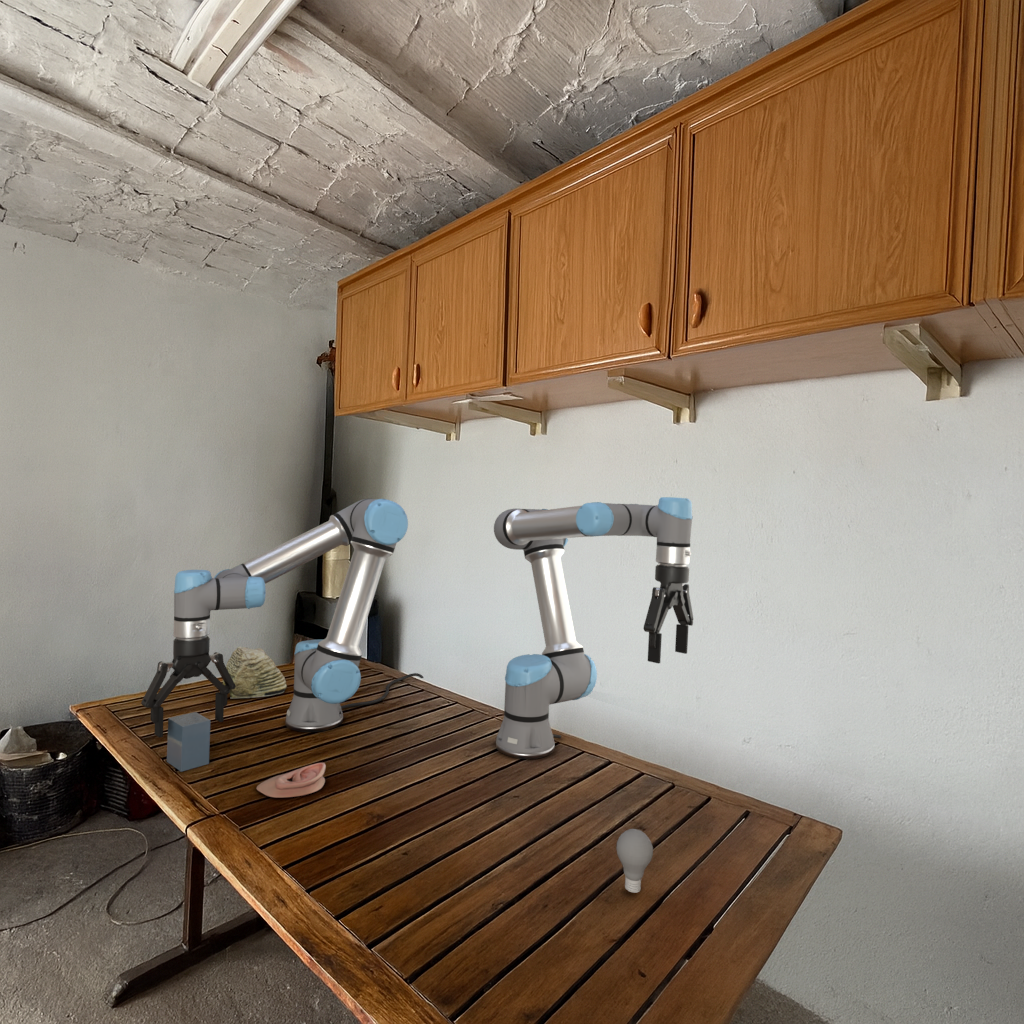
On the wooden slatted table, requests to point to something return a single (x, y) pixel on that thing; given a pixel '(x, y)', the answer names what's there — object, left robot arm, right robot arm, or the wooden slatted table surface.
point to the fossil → (254, 674)
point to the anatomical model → (295, 782)
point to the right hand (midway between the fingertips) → (667, 657)
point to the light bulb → (634, 857)
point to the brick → (188, 741)
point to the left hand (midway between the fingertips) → (190, 727)
